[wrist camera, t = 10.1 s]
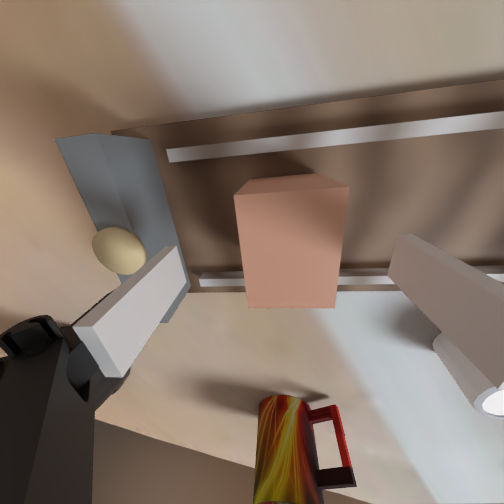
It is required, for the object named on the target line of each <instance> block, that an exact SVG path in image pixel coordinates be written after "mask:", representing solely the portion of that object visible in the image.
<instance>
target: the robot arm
mask: <svg viewBox="0 0 504 504" xmlns="http://www.w3.org/2000/svg"><path fill="white" fill-rule="evenodd" d="M387 276H388V277H389V278H390V279H391V280H392V281H393V282H394V283H395V284H396V285H397V286H398V287H399V289H400V290H401V291H402V292H403V293H404V294H405V295H406V296H407V297H408V298H409V299H410V300H411V301H412V302H413V303H414V304H415V305H416V306H417V307H418V308H419V309H420V310H421V311H422V312H423V313H424V314H425V315H426V316H427V317H428V318H429V319H430V320H431V321H432V322H433V323H434V324H435V325H436V326H437V327H438V328H439V329H440V330H441V332H442V333H443V334H444V335H445V336H446V337H447V338H448V339H449V340H450V341H451V342H452V343H453V344H454V345H455V346H456V347H457V348H458V349H459V350H460V351H461V352H462V353H463V354H464V355H465V356H466V357H467V358H468V359H469V360H470V361H471V362H472V363H473V364H474V365H475V366H476V367H477V368H478V369H479V370H480V371H481V372H482V373H483V375H484V376H485V377H486V378H487V379H488V380H489V381H490V382H491V383H492V384H493V385H494V386H495V387H496V388H497V389H504V283H503V282H500V281H498V280H496V279H494V278H492V277H490V276H488V275H486V274H485V273H483V272H481V271H479V270H477V269H475V268H474V267H472V266H470V265H468V264H466V263H465V262H463V261H461V260H459V259H457V258H455V257H454V256H452V255H450V254H448V253H446V252H444V251H443V250H441V249H439V248H437V247H435V246H433V245H432V244H430V243H428V242H426V241H424V240H422V239H421V238H419V237H417V236H415V235H413V234H398V235H397V238H396V242H395V246H394V250H393V254H392V258H391V262H390V266H389V271H388V275H387ZM186 282H187V281H186V278H185V274H184V271H183V267H182V263H181V260H180V256H179V253H178V249H177V246H165V247H164V248H163V249H162V250H161V251H159V252H158V253H157V254H156V255H155V256H154V257H152V258H151V259H150V260H149V261H148V262H147V263H145V264H144V265H143V266H142V267H141V268H140V269H139V270H137V271H136V272H135V273H134V274H133V275H132V276H130V277H129V278H128V279H127V280H126V281H125V282H123V283H122V284H121V285H120V286H119V287H118V288H116V289H115V290H113V291H112V292H110V293H108V294H107V295H106V296H104V297H103V298H102V299H101V300H100V301H99V303H96V304H95V305H94V306H93V307H91V309H89V310H88V311H87V312H85V313H84V314H83V315H82V316H81V317H80V318H78V319H77V320H76V321H75V322H74V323H73V324H71V325H70V326H69V327H64V328H59V327H58V326H57V324H56V323H55V322H54V320H53V319H52V317H51V316H48V315H42V316H37V317H33V318H30V319H27V320H25V321H23V322H20V323H18V324H16V325H15V326H13V327H11V328H9V329H8V330H6V331H5V332H4V333H2V334H1V335H0V347H1V348H2V349H3V350H4V351H5V352H6V353H7V355H8V356H6V357H2V358H0V504H92V478H93V477H92V476H93V449H94V448H93V447H94V418H95V411H96V410H97V409H98V408H99V407H100V406H101V405H102V404H103V403H104V402H105V400H106V399H107V398H108V397H109V396H110V395H112V394H114V393H115V392H116V391H117V390H119V388H120V387H121V386H122V385H123V383H124V382H125V380H126V378H127V377H128V375H129V373H130V366H131V365H132V363H133V362H134V360H135V359H136V357H137V355H138V354H139V352H140V351H141V349H142V348H143V346H144V345H145V343H146V342H147V340H148V339H149V337H150V336H151V334H152V333H153V331H154V330H155V328H156V327H157V325H158V324H159V322H160V321H161V319H162V318H163V316H164V315H165V313H166V312H167V310H168V309H169V307H170V306H171V304H172V303H173V301H174V300H175V298H176V297H177V295H178V294H179V292H180V291H181V289H182V288H183V286H184V285H185V283H186Z"/></svg>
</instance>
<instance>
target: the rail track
mask: <svg viewBox="0 0 504 504" xmlns="http://www.w3.org/2000/svg"><path fill="white" fill-rule="evenodd" d="M111 133H112V135H116V136H125V137H133V138H142V139H150V140H151V143H152V147H153V151H154V154H155V158H156V161H157V165H158V169H159V172H160V176H161V179H162V183H163V187H164V190H165V194H166V198H167V201H168V205H169V208H170V212H171V216H172V219H173V223H174V226H175V230H176V234H177V237H178V241H179V244H180V248H181V252H182V255H183V259H184V262H185V266H186V270H187V273H188V277H189V280H190V284H191V287H190V289H189V290H188V292H187V293H198V292H246V288H245V280H244V272H243V265H242V257H241V249H240V241H239V234H238V226H237V218H236V211H235V203H234V194H235V193H236V192H237V191H238V190H239V189H240V188H241V187H242V186H243V185H244V184H245V183H246V182H247V181H248V180H249V179H256V178H267V177H279V176H290V175H302V174H313V173H319V174H321V175H324V176H326V177H328V178H331V179H333V180H335V181H338V182H340V183H342V184H345V185H347V186H349V195H348V203H347V211H346V219H345V228H344V236H343V244H342V252H341V261H340V269H339V277H338V285H337V291H401V290H400V289H399V287H398V286H397V285H396V284H395V283H394V282H393V281H392V280H391V279H390V278H389V277H388V276H387V275H388V271H389V266H390V262H391V258H392V254H393V250H394V246H395V242H396V238H397V235H398V234H413V235H415V236H417V237H419V238H421V239H422V240H424V241H426V242H428V243H430V244H432V245H433V246H435V247H437V248H439V249H441V250H443V251H444V252H446V253H448V254H450V255H452V256H454V257H455V258H457V259H459V260H461V261H463V262H465V263H466V264H468V265H470V266H472V267H474V268H475V269H477V270H479V271H481V272H483V273H485V274H486V275H488V276H490V277H492V278H494V279H496V280H498V281H500V282H503V283H504V79H502V80H494V81H487V82H479V83H472V84H464V85H456V86H449V87H441V88H434V89H426V90H419V91H411V92H403V93H396V94H388V95H381V96H373V97H366V98H358V99H350V100H343V101H335V102H328V103H320V104H313V105H305V106H297V107H290V108H282V109H275V110H267V111H260V112H252V113H244V114H237V115H229V116H222V117H214V118H207V119H199V120H191V121H184V122H176V123H169V124H161V125H154V126H146V127H138V128H131V129H123V130H116V131H111Z"/></svg>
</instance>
